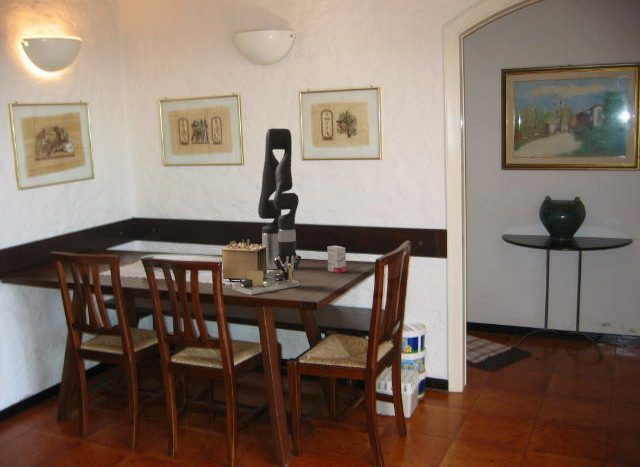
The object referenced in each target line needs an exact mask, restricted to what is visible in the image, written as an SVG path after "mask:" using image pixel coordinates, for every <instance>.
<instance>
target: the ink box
mask: <svg viewBox="0 0 640 467" xmlns="http://www.w3.org/2000/svg"><path fill="white" fill-rule="evenodd" d="M326 248H327V251H326V252H327V270H328V272H332V273H336V274H341V273H346V272H347V260H346V247H343V246H339V245H331V246H329V245H328V246H327V247H326Z"/></svg>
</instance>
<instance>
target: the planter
mask: <svg viewBox="0 0 640 467" xmlns="http://www.w3.org/2000/svg"><path fill="white" fill-rule="evenodd" d="M266 248H267V246H262V243H260V244H258V243H250V239H247V241H246V242H245V240H244V238H242V242H241V241H239V243H237V242H236V241H235V240H233V241H229V244H226V247H223V248H222V249H221V257H222V279H223V280H224V279H229V280H240V281H241V279H244V278H248V277H247V271H260V270H263V276H264V279H268V278H273V277H272V276H270V275H268V269H267V254H266Z"/></svg>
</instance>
